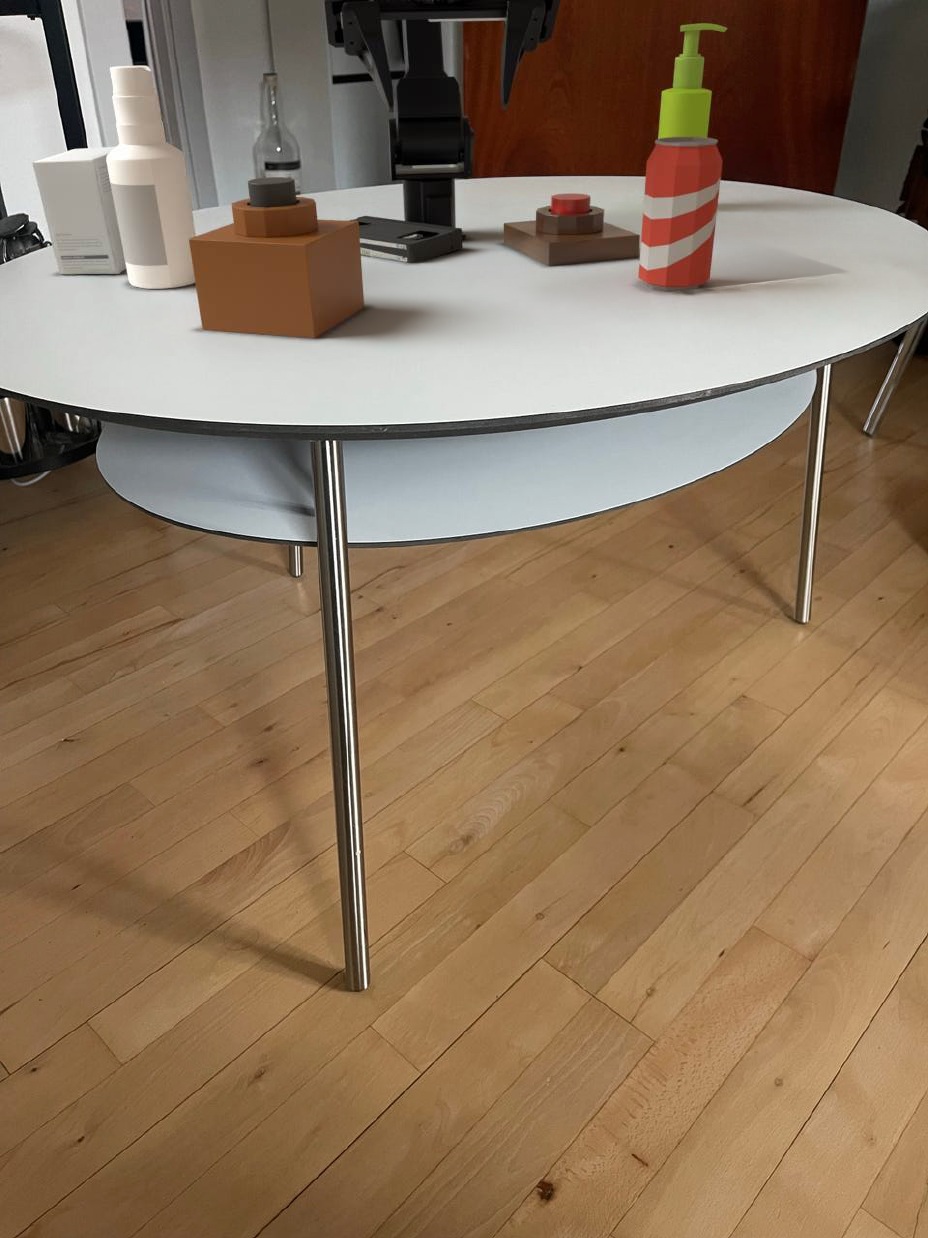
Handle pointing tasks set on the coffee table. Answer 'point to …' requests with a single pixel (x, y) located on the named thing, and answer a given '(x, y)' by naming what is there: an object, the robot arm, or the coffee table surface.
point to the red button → (570, 203)
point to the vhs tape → (406, 239)
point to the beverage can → (680, 213)
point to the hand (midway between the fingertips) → (448, 107)
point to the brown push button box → (278, 271)
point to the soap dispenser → (687, 90)
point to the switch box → (571, 238)
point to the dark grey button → (272, 192)
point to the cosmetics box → (81, 211)
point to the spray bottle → (149, 187)
